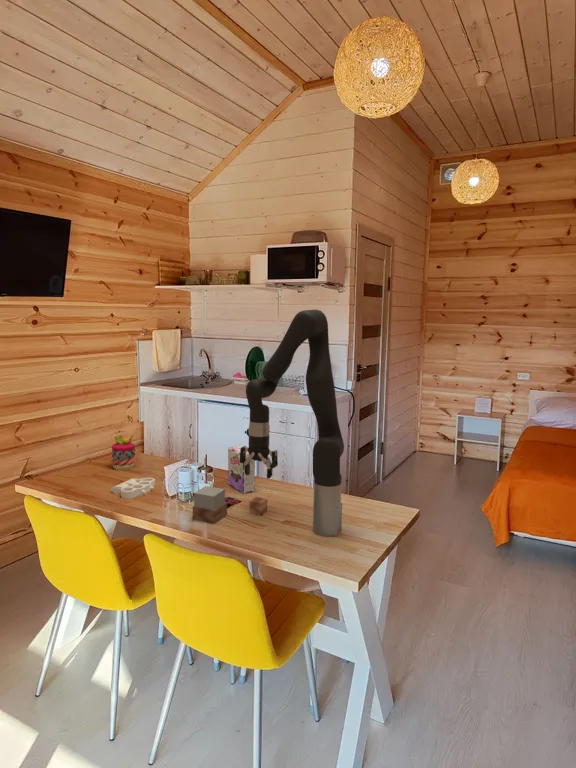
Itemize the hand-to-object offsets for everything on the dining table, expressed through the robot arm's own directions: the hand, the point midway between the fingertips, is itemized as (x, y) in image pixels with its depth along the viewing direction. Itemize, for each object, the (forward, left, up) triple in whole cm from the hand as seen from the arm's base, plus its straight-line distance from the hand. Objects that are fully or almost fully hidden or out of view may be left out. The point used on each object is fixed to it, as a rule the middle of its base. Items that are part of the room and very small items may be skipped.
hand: (258, 476), depth 188 cm
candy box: (+18, -21, -14) cm, 31 cm away
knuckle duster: (+56, 0, -15) cm, 58 cm away
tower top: (+14, +11, -9) cm, 20 cm away
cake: (+81, -23, -14) cm, 85 cm away
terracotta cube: (0, 0, -14) cm, 14 cm away
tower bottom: (+14, +11, -14) cm, 23 cm away
